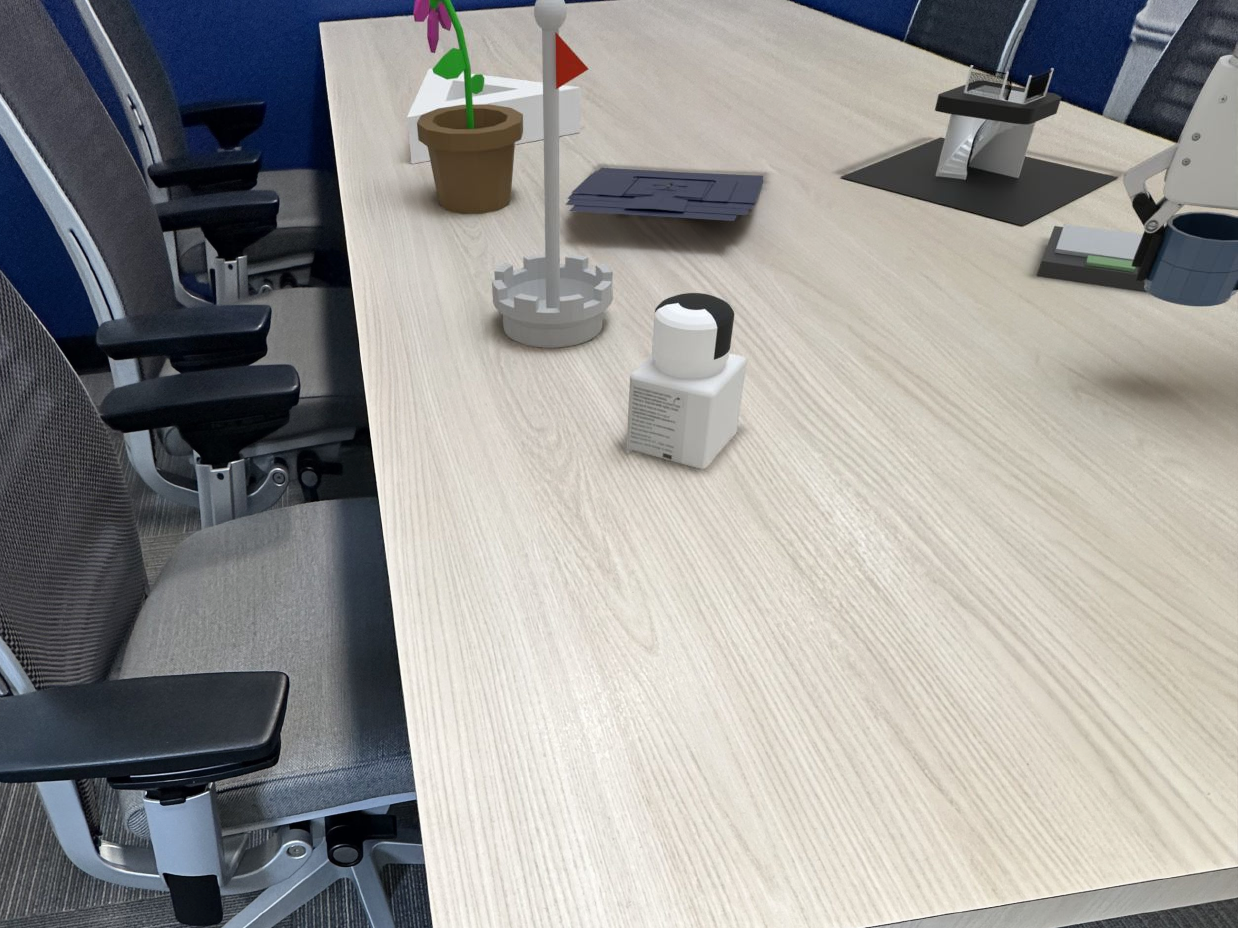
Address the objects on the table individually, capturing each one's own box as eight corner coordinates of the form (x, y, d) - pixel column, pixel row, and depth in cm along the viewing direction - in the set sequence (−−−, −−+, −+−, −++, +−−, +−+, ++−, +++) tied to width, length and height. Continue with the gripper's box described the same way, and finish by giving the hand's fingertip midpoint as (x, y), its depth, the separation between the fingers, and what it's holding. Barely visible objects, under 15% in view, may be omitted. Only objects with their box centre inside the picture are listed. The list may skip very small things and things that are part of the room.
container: (661, 416, 91) (672, 277, 82) (737, 436, 89) (757, 294, 79) (624, 454, 87) (631, 311, 78) (703, 476, 84) (720, 330, 75)
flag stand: (470, 324, 107) (446, -7, 86) (558, 291, 113) (556, -27, 91) (546, 363, 100) (541, 12, 78) (636, 326, 105) (654, -11, 84)
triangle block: (432, 110, 169) (429, 68, 164) (580, 107, 168) (580, 64, 163) (411, 164, 148) (406, 117, 143) (580, 160, 147) (580, 113, 142)
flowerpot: (448, 181, 142) (427, -80, 120) (539, 189, 138) (535, -79, 117) (407, 213, 132) (378, -63, 111) (504, 223, 129) (493, -61, 107)
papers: (553, 234, 122) (554, 202, 120) (598, 187, 145) (600, 160, 142) (746, 246, 117) (751, 213, 115) (762, 196, 140) (766, 168, 138)
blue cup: (1233, 281, 86) (1263, 217, 82) (1232, 312, 82) (1264, 246, 78) (1144, 270, 89) (1169, 207, 85) (1139, 300, 84) (1165, 235, 80)
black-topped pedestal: (839, 177, 138) (860, 69, 129) (940, 138, 150) (965, 35, 140) (1022, 226, 123) (1060, 107, 114) (1118, 178, 135) (1160, 66, 125)
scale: (1173, 263, 114) (1185, 237, 112) (1169, 302, 106) (1181, 275, 104) (1047, 246, 118) (1056, 221, 116) (1034, 281, 111) (1043, 256, 109)
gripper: (1430, 37, 71) (1304, 280, 84) (1168, 26, 77) (1087, 254, 90) (1443, 61, 67) (1307, 313, 79) (1163, 47, 73) (1078, 284, 85)
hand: (1191, 280), depth 85 cm, fingers closed on blue cup, 7 cm apart
